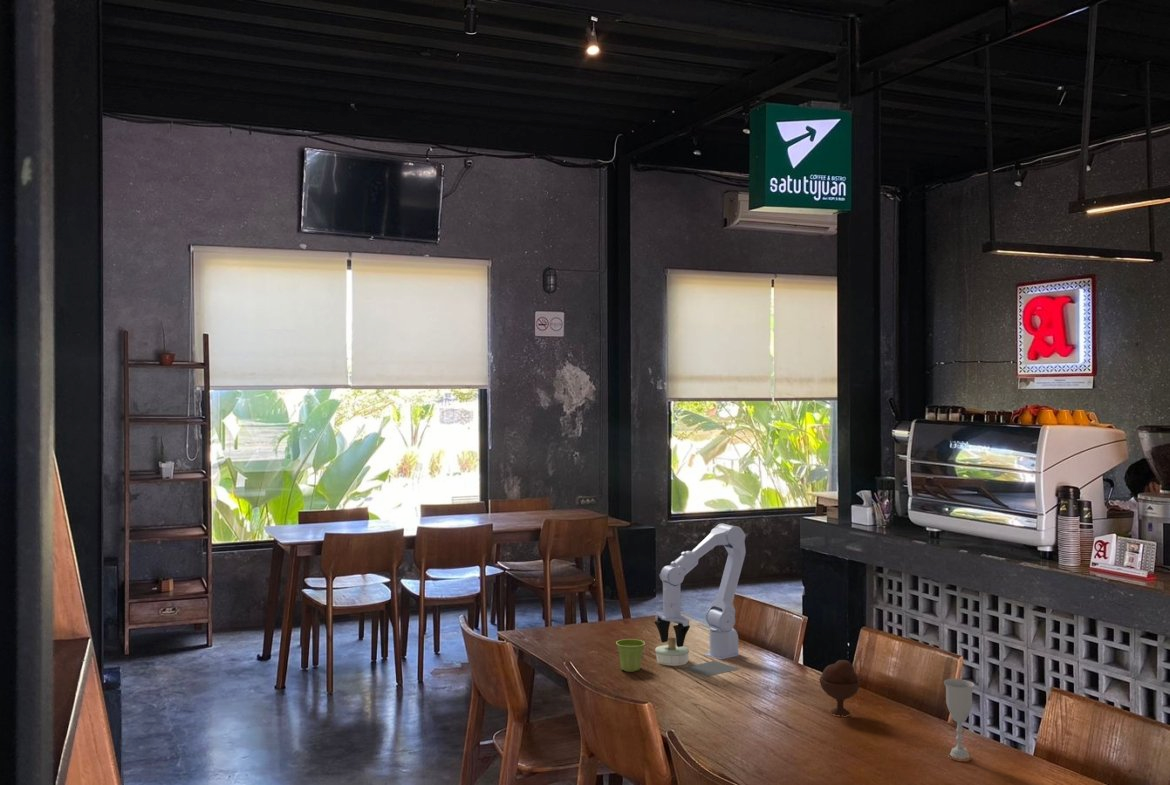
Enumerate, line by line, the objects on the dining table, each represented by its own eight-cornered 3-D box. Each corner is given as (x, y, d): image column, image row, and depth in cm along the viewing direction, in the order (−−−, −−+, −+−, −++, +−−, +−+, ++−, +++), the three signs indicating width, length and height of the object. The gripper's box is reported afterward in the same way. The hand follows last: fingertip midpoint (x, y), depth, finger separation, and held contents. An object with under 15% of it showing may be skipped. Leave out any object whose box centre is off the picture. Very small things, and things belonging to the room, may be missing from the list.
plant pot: (645, 665, 322) (645, 639, 322) (644, 674, 313) (644, 646, 313) (617, 665, 323) (616, 638, 323) (615, 673, 314) (614, 645, 314)
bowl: (673, 656, 333) (673, 646, 333) (694, 663, 325) (694, 652, 325) (650, 661, 327) (650, 650, 327) (671, 668, 319) (670, 657, 319)
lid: (675, 645, 333) (674, 632, 333) (695, 652, 324) (695, 639, 324) (648, 650, 327) (648, 637, 327) (669, 657, 318) (668, 644, 318)
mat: (713, 662, 326) (713, 660, 326) (740, 669, 316) (740, 668, 316) (681, 669, 318) (681, 668, 318) (708, 677, 308) (708, 676, 308)
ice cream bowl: (861, 709, 275) (861, 655, 275) (859, 722, 265) (858, 666, 265) (822, 706, 279) (822, 652, 279) (818, 718, 268) (817, 662, 268)
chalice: (939, 753, 241) (938, 679, 241) (966, 752, 242) (965, 678, 242) (952, 764, 234) (952, 688, 234) (980, 763, 235) (979, 687, 235)
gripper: (648, 600, 329) (648, 641, 329) (677, 608, 318) (677, 650, 318) (664, 598, 334) (664, 638, 333) (693, 605, 322) (694, 647, 322)
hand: (672, 644), depth 326 cm, fingers open, 7 cm apart
